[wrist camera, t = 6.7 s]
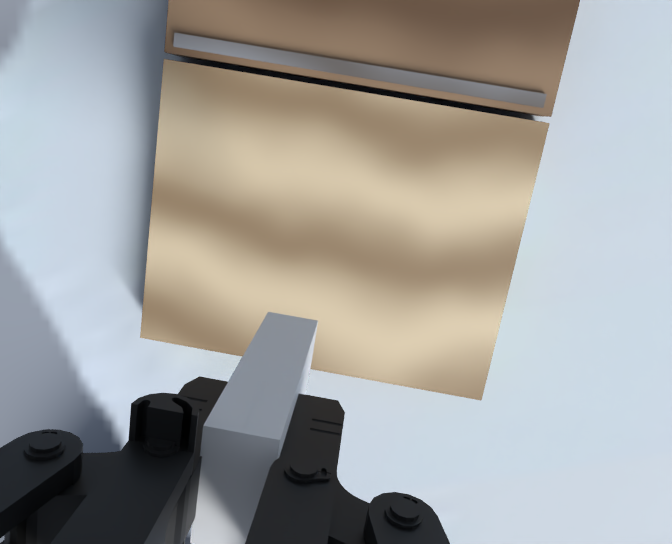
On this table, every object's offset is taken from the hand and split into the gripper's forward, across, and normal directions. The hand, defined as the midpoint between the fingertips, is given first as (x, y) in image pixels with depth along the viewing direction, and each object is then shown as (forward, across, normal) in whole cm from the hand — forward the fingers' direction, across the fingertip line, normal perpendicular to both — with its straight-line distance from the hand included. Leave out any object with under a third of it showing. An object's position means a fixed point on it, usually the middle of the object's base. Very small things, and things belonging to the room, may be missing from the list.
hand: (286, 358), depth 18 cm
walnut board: (+15, 0, +13) cm, 20 cm away
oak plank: (+14, 0, +1) cm, 14 cm away
